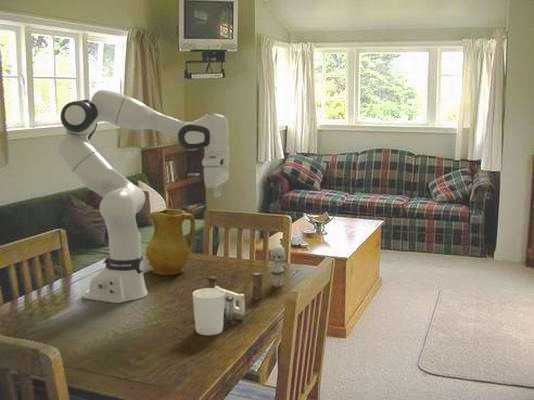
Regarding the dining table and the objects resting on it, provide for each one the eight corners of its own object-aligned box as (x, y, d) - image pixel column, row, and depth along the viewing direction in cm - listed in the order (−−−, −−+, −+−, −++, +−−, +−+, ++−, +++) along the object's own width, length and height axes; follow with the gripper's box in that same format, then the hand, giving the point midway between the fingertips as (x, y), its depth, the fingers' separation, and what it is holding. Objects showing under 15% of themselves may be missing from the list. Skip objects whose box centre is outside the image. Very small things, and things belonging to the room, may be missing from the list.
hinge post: (207, 309, 219) (206, 278, 217) (209, 306, 222) (209, 276, 220) (215, 309, 219) (215, 279, 217) (218, 306, 221) (217, 276, 220)
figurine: (262, 285, 245) (262, 246, 243) (268, 280, 251) (268, 242, 248) (288, 288, 241) (288, 248, 239) (294, 283, 247) (294, 245, 244)
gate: (214, 305, 218) (214, 286, 217) (217, 304, 219) (217, 285, 218) (242, 315, 209) (241, 295, 208) (244, 314, 210) (244, 294, 209)
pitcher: (153, 263, 274) (153, 205, 269) (196, 267, 272) (198, 208, 267) (140, 276, 258) (140, 214, 253) (186, 280, 255) (187, 218, 250)
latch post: (224, 323, 206) (223, 298, 205) (226, 320, 209) (226, 295, 208) (232, 323, 206) (232, 299, 204) (235, 320, 208) (234, 296, 207)
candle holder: (212, 338, 194) (211, 300, 191) (186, 332, 199) (185, 294, 197) (231, 328, 202) (231, 291, 200) (206, 322, 207) (205, 286, 205)
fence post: (256, 299, 229) (256, 274, 227) (252, 298, 230) (252, 273, 229) (262, 298, 230) (262, 273, 228) (258, 296, 232) (258, 272, 230)
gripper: (216, 155, 246) (217, 191, 248) (200, 161, 226) (201, 201, 228) (232, 155, 244) (233, 192, 247) (218, 162, 225) (218, 201, 227)
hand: (217, 196), depth 237 cm, fingers closed
